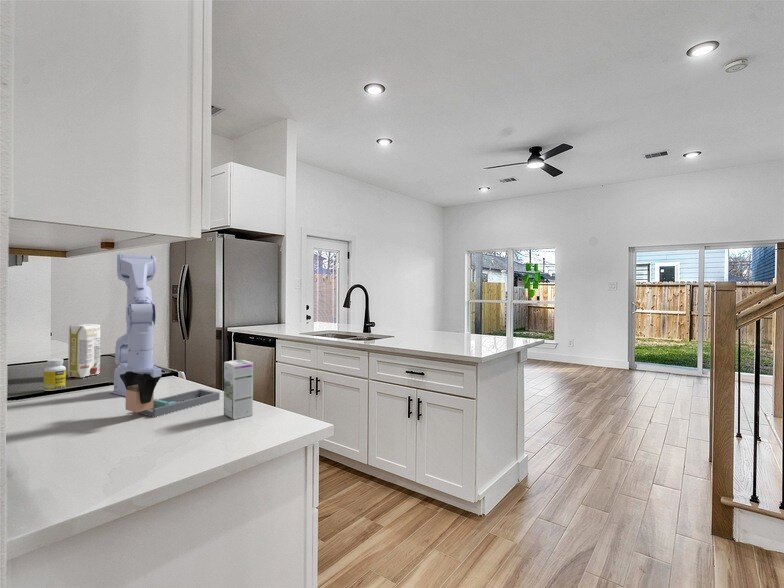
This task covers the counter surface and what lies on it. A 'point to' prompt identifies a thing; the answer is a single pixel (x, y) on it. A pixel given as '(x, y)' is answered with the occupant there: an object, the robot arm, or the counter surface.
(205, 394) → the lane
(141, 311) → the robot arm
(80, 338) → the juice carton
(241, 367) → the syrup box
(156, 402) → the pusher
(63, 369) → the supplement bottle
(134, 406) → the tan cardboard cube box
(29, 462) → the counter surface
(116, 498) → the counter surface
